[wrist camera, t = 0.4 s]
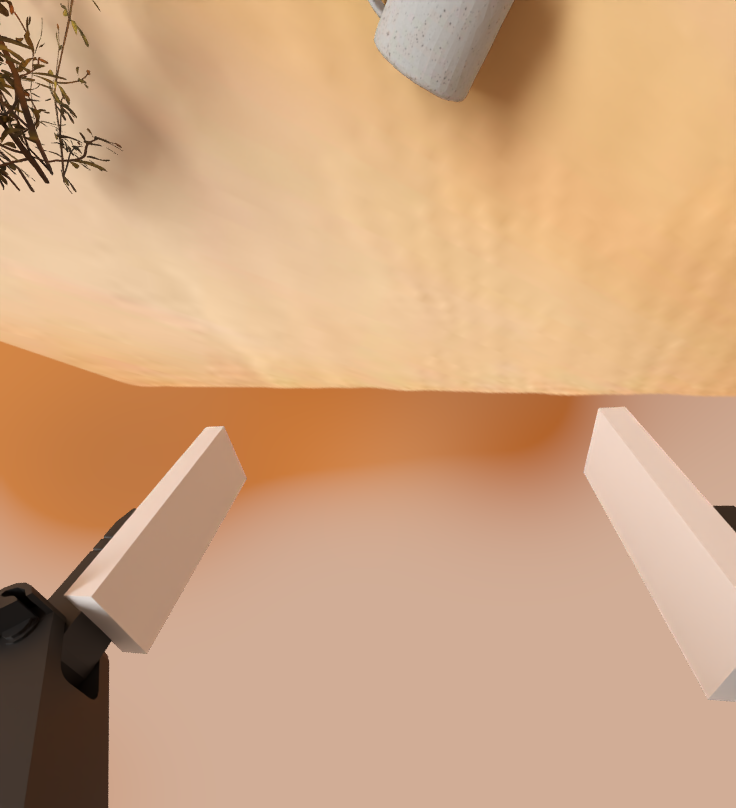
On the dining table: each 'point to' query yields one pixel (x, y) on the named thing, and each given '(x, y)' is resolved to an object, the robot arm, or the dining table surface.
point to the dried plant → (21, 95)
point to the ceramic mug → (439, 40)
